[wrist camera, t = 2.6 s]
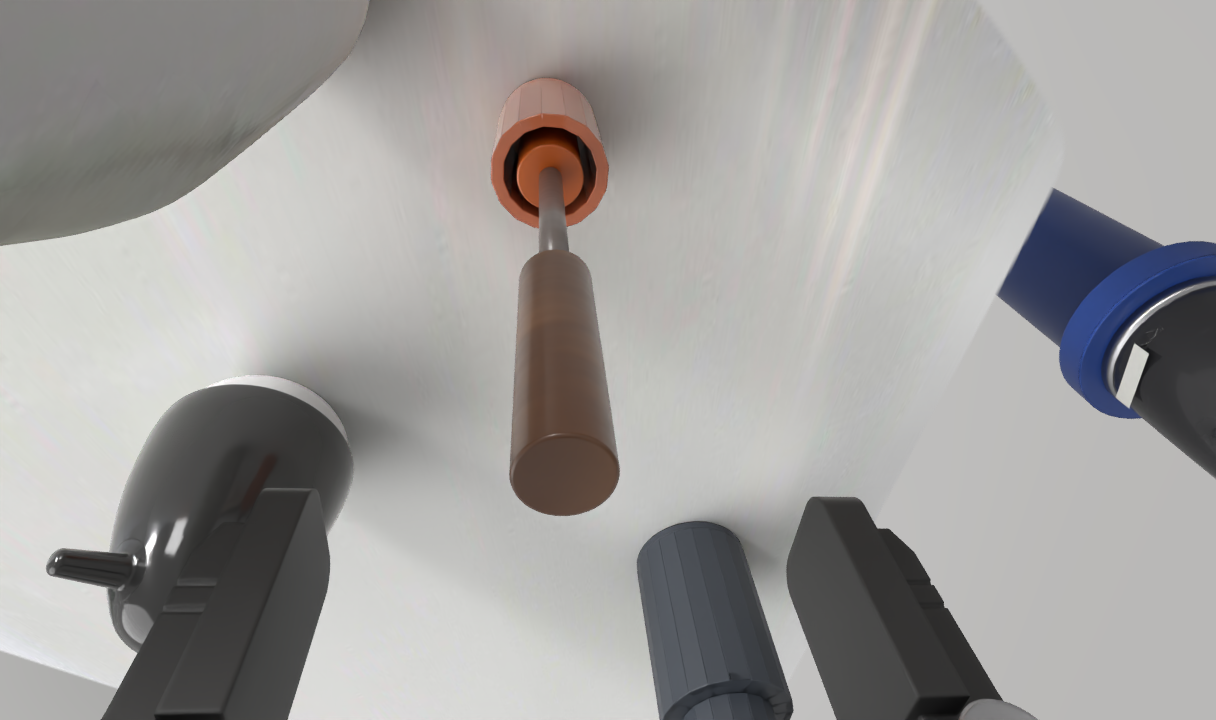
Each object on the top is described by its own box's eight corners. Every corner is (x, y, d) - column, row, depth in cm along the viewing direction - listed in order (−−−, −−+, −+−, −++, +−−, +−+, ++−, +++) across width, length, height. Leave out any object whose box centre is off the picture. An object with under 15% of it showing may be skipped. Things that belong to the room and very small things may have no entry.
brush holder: (600, 82, 32) (614, 119, 26) (591, 179, 34) (602, 232, 29) (500, 73, 31) (491, 109, 26) (498, 172, 34) (490, 225, 28)
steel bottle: (752, 521, 49) (830, 740, 36) (730, 594, 53) (793, 814, 40) (644, 520, 48) (683, 745, 35) (630, 594, 52) (661, 820, 39)
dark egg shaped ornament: (261, 310, 37) (114, 519, 24) (403, 428, 42) (344, 652, 29) (142, 409, 39) (-48, 643, 27) (289, 508, 44) (189, 745, 32)
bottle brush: (577, 105, 32) (644, 422, 12) (573, 160, 33) (627, 529, 13) (521, 100, 32) (493, 418, 12) (519, 156, 33) (491, 528, 13)
